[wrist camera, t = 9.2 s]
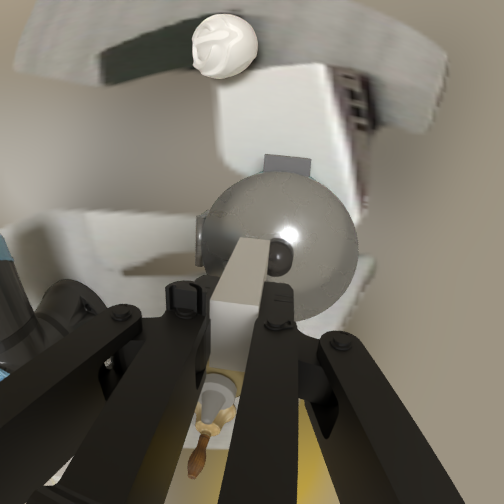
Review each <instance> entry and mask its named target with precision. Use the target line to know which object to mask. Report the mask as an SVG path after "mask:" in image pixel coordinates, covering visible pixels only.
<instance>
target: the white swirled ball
mask: <svg viewBox="0 0 504 504" xmlns="http://www.w3.org/2000/svg"><path fill="white" fill-rule="evenodd" d="M192 41H193V49H192V50H193V59H194V63H193V66H194V67H195V68H196V69H198V70H199V71H200V73H201V74H202V75H204V76H207V77H210V78H215V79H224V78H226V77H231V76H234V75H237V74H239V73H240V72H242V71H243V70H245V69H246V68H247V67H248V66H249V65H250V64H251V62H252V61H253V59H254V58H256V56H257V50H258V41H257V37H256V34H255V32H254V30H253V28H252V27H251V26H250V25H249V24H248V23H247V22H246V21H245V20H243V19H241V18H239V17H237V16H234V15H230V14H217V15H213V16H211V17H209V18H207V19H205V20H204V21H203V22H202V23H201V24H200V25H199V26H198V27H197V29H196V30H195V32H194V34H193V37H192Z"/></svg>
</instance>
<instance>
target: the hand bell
mask: <svg viewBox="0 0 504 504" xmlns="http://www.w3.org/2000/svg"><path fill="white" fill-rule="evenodd" d="M201 409H202V404H200V403H199V402H198V403H197V406H196V409H195V413H196V424H195V427H196V429H197V430H198V431H199V432H200V433H201V435H200V437H199V441H198V444H197V447H196V449H195V450H194V451H193V452H192V454H191V456H190V458H189V461H188V477H189V478H191V479H195V478H196V477H197V476H198V475H199V473H200V472H201V471H202V469H203V467H204V465H205V461H206V447H207V444H208V442H209V439H210V437H211V436H216V435H218V434H219V433H220V431H221V429H222V427H223V425H224V424H225V423H226V422H229V421H231V420H232V419H233V418H234V417H235V415H236V408H235V406H234V405H232V406H231V407H230V408H227V409H225V410H220V411H219V413H218V414H217V416H216V418H215V419H214V421H213V422H212V424H210V425H207V424H204V423H203V422H202V421H201Z"/></svg>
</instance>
